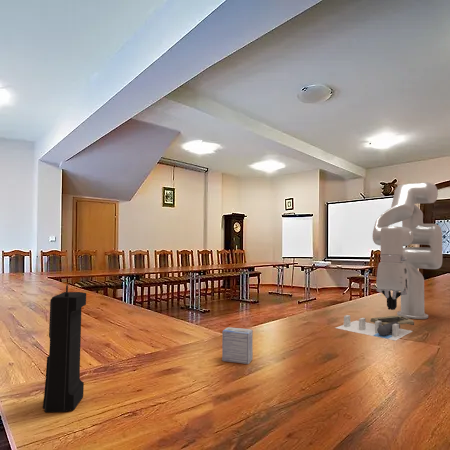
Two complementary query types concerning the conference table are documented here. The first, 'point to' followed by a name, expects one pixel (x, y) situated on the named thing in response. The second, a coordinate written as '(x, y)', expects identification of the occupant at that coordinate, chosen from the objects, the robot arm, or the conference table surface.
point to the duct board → (372, 328)
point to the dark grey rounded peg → (386, 328)
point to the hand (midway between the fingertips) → (391, 309)
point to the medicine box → (237, 345)
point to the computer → (393, 318)
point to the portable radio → (64, 353)
